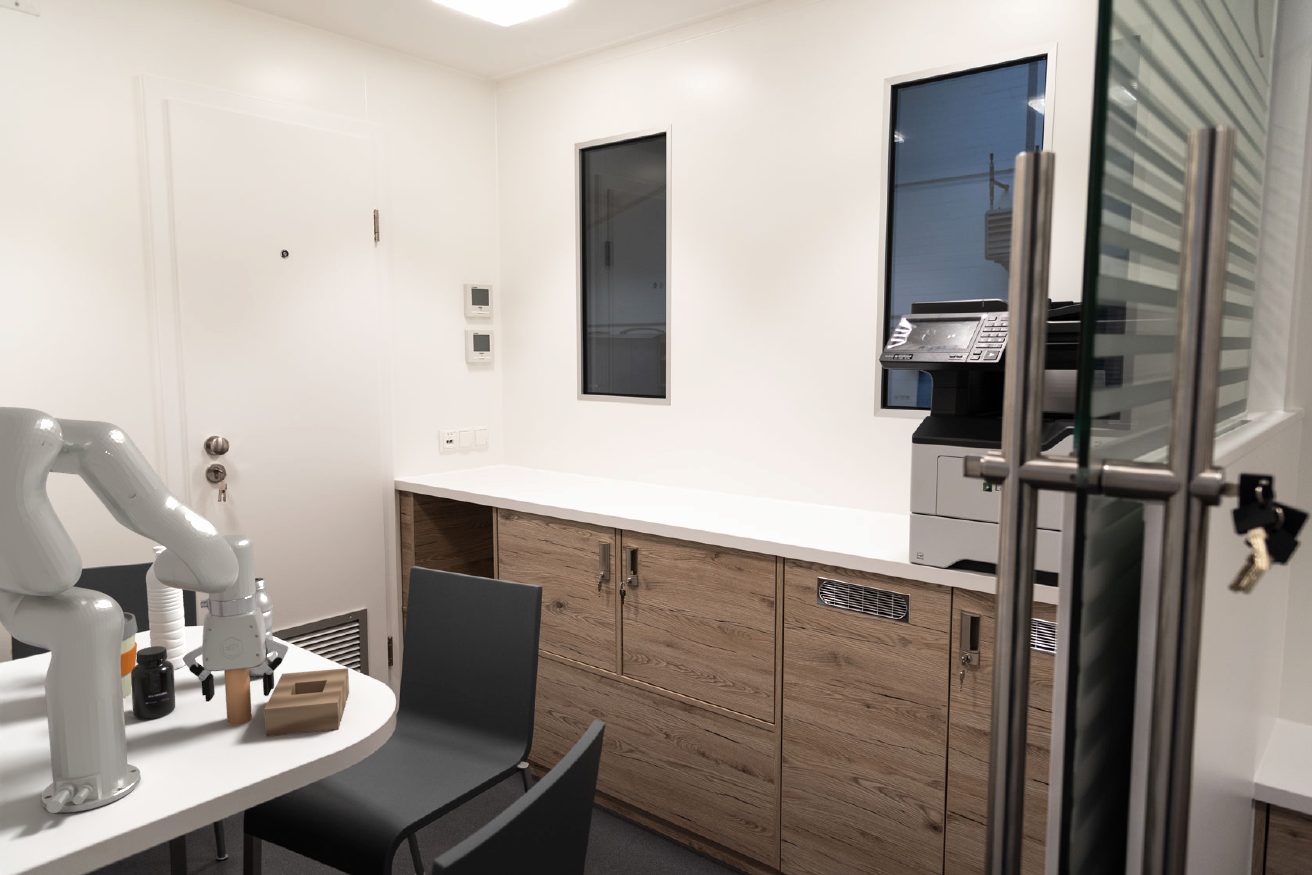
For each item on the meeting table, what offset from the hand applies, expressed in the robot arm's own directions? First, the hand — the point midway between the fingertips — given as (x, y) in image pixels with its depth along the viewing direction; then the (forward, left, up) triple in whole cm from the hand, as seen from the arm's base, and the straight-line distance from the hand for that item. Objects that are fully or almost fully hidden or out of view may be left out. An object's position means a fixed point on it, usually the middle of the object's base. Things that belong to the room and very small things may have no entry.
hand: (239, 695), depth 151 cm
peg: (0, 0, -5) cm, 5 cm away
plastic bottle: (+22, +1, -5) cm, 22 cm away
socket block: (0, -12, -5) cm, 13 cm away
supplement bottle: (+7, +16, -5) cm, 18 cm away
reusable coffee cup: (+17, +28, -5) cm, 33 cm away
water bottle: (+32, +21, -5) cm, 39 cm away
